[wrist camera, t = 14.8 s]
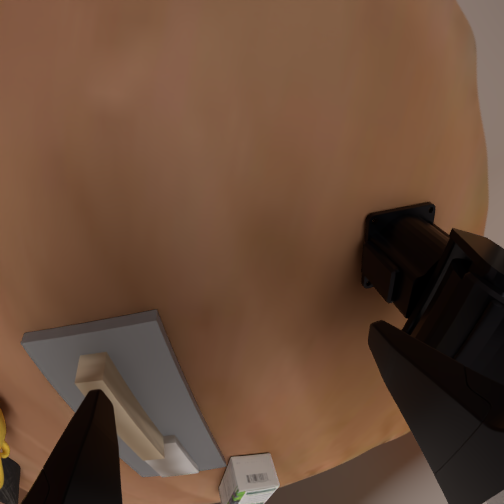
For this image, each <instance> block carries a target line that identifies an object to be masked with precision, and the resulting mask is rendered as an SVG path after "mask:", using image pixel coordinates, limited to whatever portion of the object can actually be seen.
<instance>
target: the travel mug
mask: <svg viewBox="0 0 504 504" xmlns="http://www.w3.org/2000/svg"><path fill="white" fill-rule="evenodd" d="M1 461H2V466H3V473H4V483H3V486H2V488H1V489H0V504H18V494H19V481H20V466H19V465H18V464H17V463H16V462H14V461H13V460H11V459H10V458H8V457H7V458H1Z"/></svg>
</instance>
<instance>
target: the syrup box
mask: <svg viewBox="0 0 504 504" xmlns="http://www.w3.org/2000/svg"><path fill="white" fill-rule="evenodd" d="M279 486H280V484H279V480H278V477H277V474H276V471H275V467H274V464H273V461H272V458H271V455H270V453H264V454H255V455H246V456H233V457H231V458H230V461H229V463H228V466H227V468H226V471H225V474H224V476H223V479H222V481H221V484H220V486H219V489H218V490H219V494H220V499H221V504H264V503H265V502H266V501H267V500H268V498H269V497H270V496H271V495H272V494H273V493H274V492H275V490H276V489H277V488H278V487H279Z"/></svg>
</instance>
